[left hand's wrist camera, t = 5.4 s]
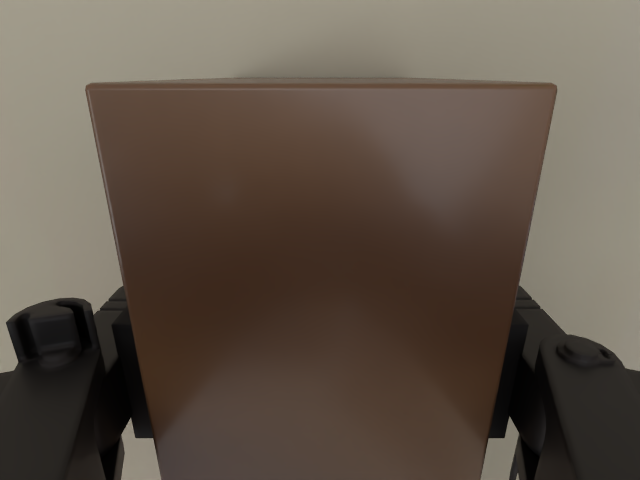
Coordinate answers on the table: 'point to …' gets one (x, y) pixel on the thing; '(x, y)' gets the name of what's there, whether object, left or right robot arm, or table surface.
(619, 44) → the table surface
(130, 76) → the table surface
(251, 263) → the post
